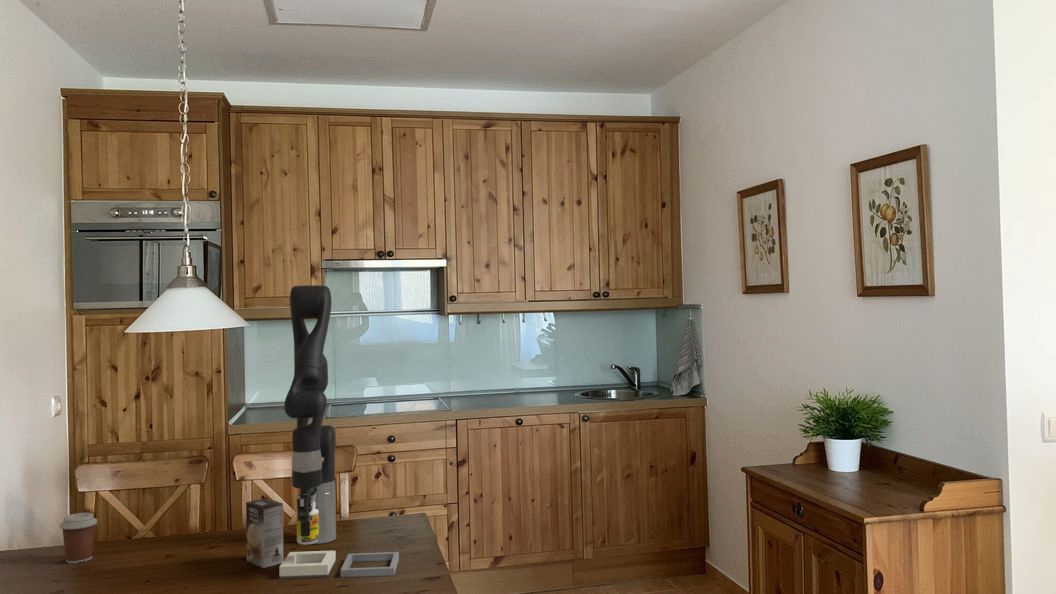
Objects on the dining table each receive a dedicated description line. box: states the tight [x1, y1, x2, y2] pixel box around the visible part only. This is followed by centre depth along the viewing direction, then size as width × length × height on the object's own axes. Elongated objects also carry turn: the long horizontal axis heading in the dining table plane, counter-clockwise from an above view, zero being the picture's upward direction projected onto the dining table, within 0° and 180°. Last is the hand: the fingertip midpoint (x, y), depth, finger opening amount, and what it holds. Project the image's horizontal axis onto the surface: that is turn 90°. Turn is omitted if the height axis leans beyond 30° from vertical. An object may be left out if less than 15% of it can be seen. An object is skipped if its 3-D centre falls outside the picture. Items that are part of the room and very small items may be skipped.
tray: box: [340, 551, 400, 578], centre depth 216 cm, size 13×13×2 cm
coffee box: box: [245, 497, 284, 569], centre depth 222 cm, size 9×6×16 cm
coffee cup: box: [59, 512, 98, 564], centre depth 226 cm, size 9×9×12 cm
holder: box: [278, 550, 337, 580], centre depth 215 cm, size 12×12×3 cm
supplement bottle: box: [296, 501, 319, 546], centre depth 215 cm, size 6×6×10 cm
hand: (307, 532), depth 215 cm, fingers closed on supplement bottle, 5 cm apart
